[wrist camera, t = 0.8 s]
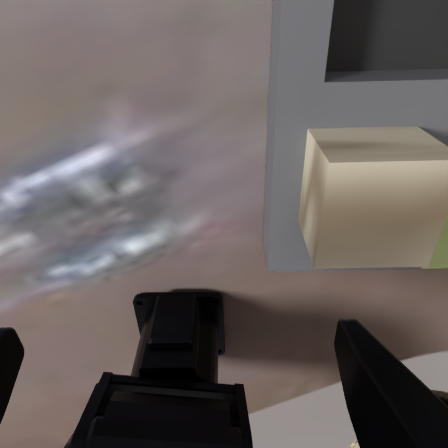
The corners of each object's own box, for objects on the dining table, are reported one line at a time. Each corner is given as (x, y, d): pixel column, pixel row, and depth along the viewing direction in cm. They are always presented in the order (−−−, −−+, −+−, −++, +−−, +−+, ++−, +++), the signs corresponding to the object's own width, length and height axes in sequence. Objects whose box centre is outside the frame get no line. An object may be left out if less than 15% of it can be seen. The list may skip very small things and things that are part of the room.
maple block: (392, 218, 19) (428, 266, 16) (298, 220, 19) (314, 268, 16) (417, 126, 16) (467, 159, 13) (307, 128, 16) (329, 162, 13)
